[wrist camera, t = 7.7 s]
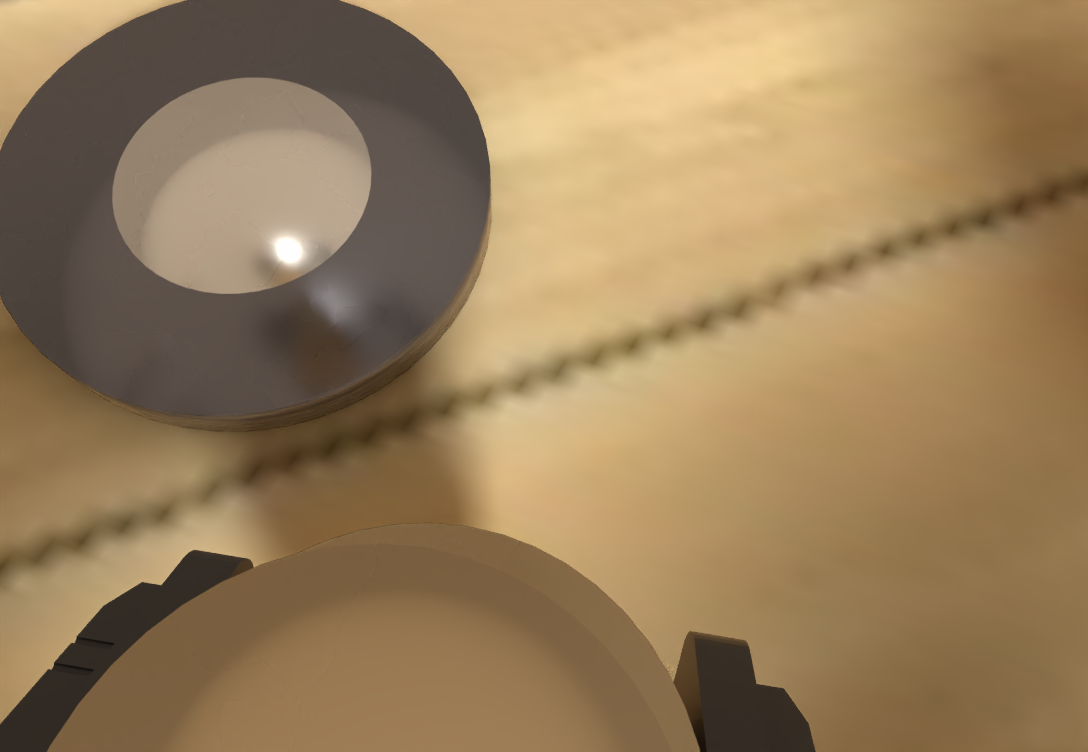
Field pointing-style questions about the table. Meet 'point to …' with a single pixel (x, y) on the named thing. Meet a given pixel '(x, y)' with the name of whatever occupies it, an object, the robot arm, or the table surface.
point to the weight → (390, 658)
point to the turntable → (243, 211)
